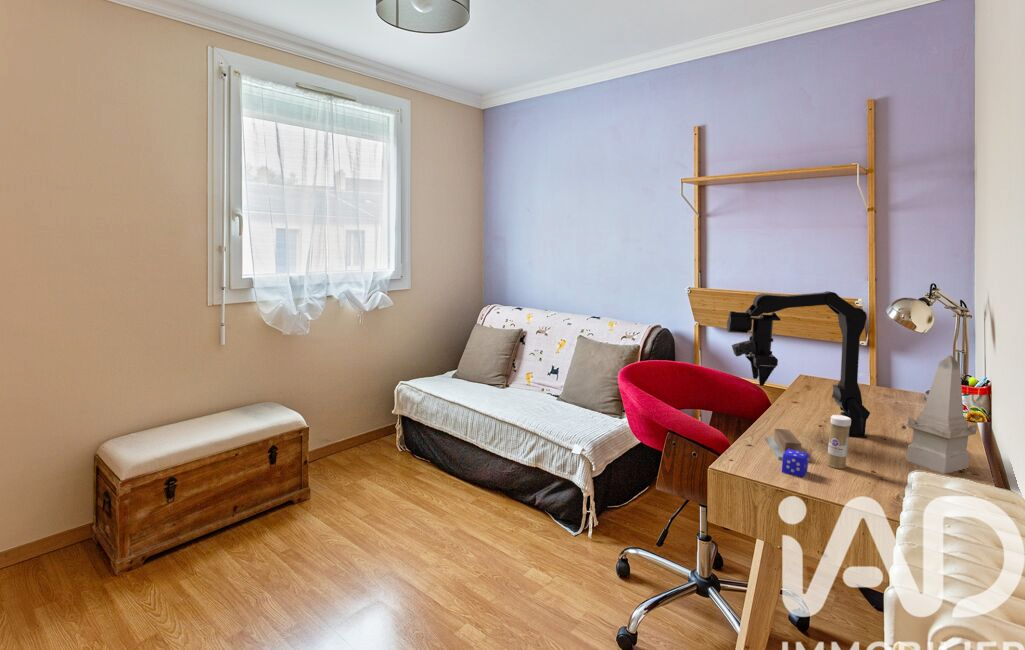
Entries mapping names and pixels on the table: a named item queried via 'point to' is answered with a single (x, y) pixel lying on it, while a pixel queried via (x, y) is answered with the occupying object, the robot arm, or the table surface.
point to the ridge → (783, 443)
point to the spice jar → (838, 441)
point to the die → (795, 462)
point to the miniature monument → (942, 424)
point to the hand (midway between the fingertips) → (758, 382)
